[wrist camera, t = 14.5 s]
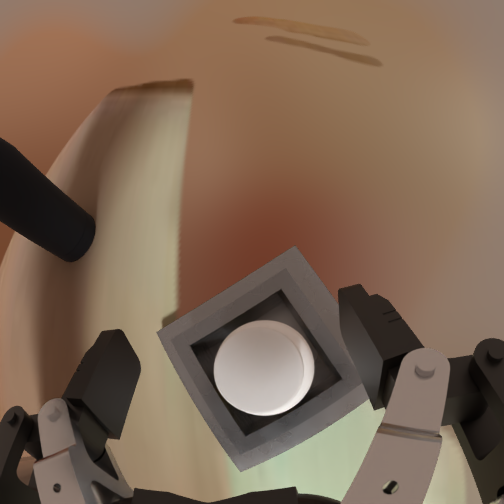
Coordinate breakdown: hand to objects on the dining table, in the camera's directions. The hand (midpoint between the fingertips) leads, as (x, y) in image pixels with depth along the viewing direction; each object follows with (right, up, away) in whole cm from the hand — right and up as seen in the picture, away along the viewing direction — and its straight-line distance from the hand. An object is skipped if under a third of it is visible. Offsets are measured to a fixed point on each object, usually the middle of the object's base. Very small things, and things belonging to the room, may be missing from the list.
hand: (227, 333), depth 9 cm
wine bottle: (-21, +5, +20) cm, 29 cm away
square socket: (+2, -6, +12) cm, 14 cm away
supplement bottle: (+2, -6, +11) cm, 13 cm away
